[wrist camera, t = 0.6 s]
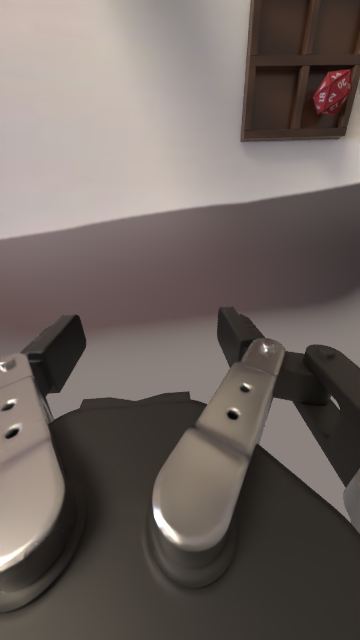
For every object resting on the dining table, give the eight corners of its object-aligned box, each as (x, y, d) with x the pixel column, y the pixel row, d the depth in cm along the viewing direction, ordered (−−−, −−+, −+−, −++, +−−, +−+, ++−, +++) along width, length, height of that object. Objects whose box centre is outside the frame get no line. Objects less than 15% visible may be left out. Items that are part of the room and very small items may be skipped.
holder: (252, -28, 23) (257, -41, 21) (377, -27, 23) (389, -40, 22) (240, 141, 29) (243, 138, 28) (338, 138, 30) (345, 135, 29)
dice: (331, 71, 26) (357, 48, 23) (338, 111, 28) (363, 96, 25) (303, 91, 27) (325, 72, 24) (312, 129, 29) (332, 117, 25)
